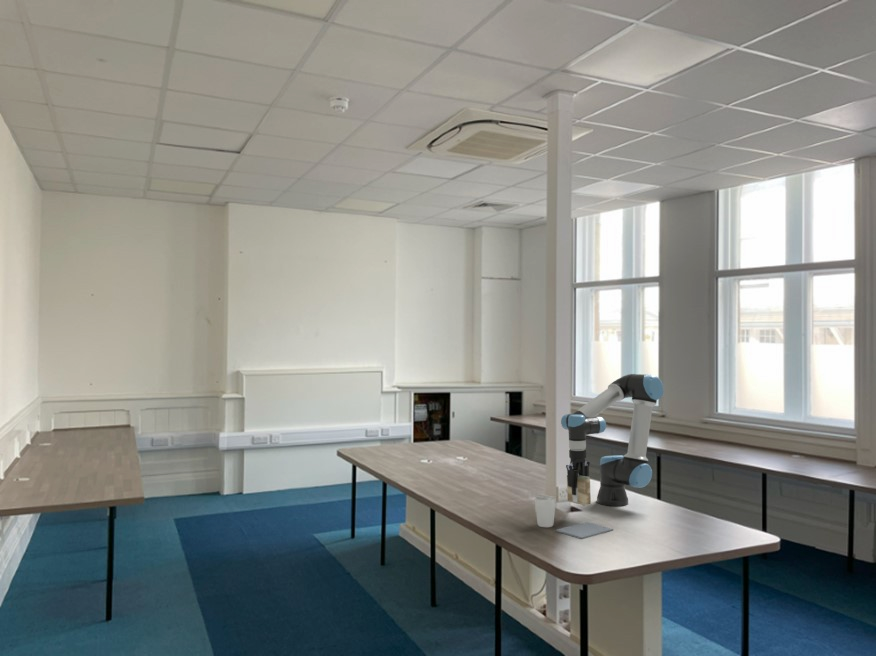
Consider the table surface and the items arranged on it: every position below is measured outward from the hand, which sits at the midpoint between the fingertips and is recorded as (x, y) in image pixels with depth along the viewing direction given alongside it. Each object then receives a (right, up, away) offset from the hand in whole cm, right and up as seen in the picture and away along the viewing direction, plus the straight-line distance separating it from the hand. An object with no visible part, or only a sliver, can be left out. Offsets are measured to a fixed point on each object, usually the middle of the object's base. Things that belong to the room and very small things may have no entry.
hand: (579, 500), depth 298 cm
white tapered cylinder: (-17, -8, -10) cm, 21 cm away
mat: (-2, -8, -19) cm, 20 cm away
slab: (0, -1, 0) cm, 1 cm away
